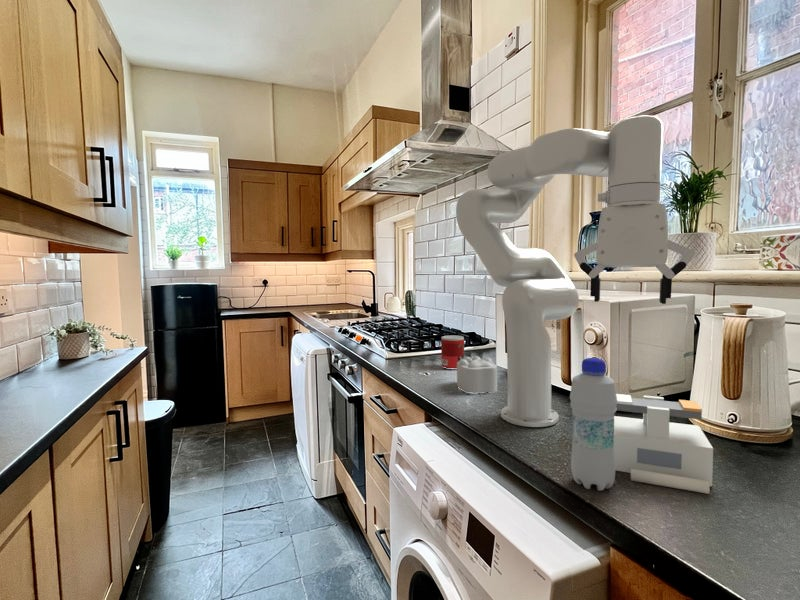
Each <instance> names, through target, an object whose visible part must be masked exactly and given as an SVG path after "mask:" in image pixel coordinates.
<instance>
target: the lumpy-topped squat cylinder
mask: <svg viewBox="0 0 800 600" xmlns="http://www.w3.org/2000/svg"><path fill="white" fill-rule="evenodd" d="M456 384H457V385H456V386H458V387H459V388H460V389H462V390H464V391H466V392H473V393H474V392H475V393H476V392H495V391H497V392H498V366H497V364H496V363H494V362H493V359H492V358H490V357H486V358H483V359H481V358H480V356H477V355H476V356H473V357H470V356H464V359H461V360H460V361H459V362H458V363H457V370H456Z"/></svg>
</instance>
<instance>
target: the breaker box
mask: <svg viewBox="0 0 800 600" xmlns="http://www.w3.org/2000/svg"><path fill="white" fill-rule="evenodd" d="M642 399H650V400H661V401H665V398H664V397H663V396H652V395H643V397H642ZM669 413H670V410H669V408H660V407H650V406H647V414H646V413H642V418H634V417H625V416H619V415H618V416H616V415H614V458H615V472H616V471H617V472H623V473H630V474H631V468H632V469H638V470H644V471H650V472H656V473H662V474H669V475H675V476H681V477H687V478H693V479H699V480H706V481H708V482H709V487H713V466H714V448H713V446H712V444H711V443H710V441H709V440H708V439H709V438H707V436H706V435H705V432H704V431H703V430H702V429H701V427H700V425H697V424H686V423H680V422H679V423H677V422H670V416H669Z"/></svg>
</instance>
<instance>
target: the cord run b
mask: <svg viewBox="0 0 800 600" xmlns="http://www.w3.org/2000/svg"><path fill="white" fill-rule="evenodd" d="M630 481H631V482H638V483H644V484H650V485H655V486H662V487H667V488H673V489H677V490H678V489H679V490H684V491H690V492H694V493H695V492H696V493H700V494H710V492H711V491H710V487H711V486H709V482H708V481H706V480H699V479H693V478H687V477H681V476H675V475H669V474H662V473H656V472H650V471H644V470H638V469H632V468H631V473H630Z"/></svg>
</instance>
